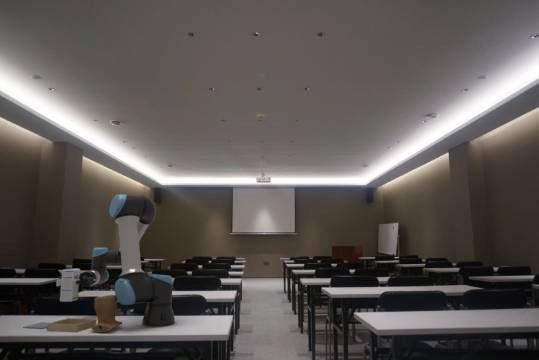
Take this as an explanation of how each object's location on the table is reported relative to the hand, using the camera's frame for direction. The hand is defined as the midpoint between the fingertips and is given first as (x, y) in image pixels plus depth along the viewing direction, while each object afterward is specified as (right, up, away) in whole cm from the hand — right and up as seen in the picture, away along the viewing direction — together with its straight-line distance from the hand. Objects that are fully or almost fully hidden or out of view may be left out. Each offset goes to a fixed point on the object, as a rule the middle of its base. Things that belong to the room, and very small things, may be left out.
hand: (64, 282), depth 172 cm
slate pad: (-13, -22, +5) cm, 26 cm away
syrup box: (0, -9, +4) cm, 10 cm away
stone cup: (+20, -20, -3) cm, 29 cm away
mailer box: (+5, -22, +6) cm, 23 cm away
